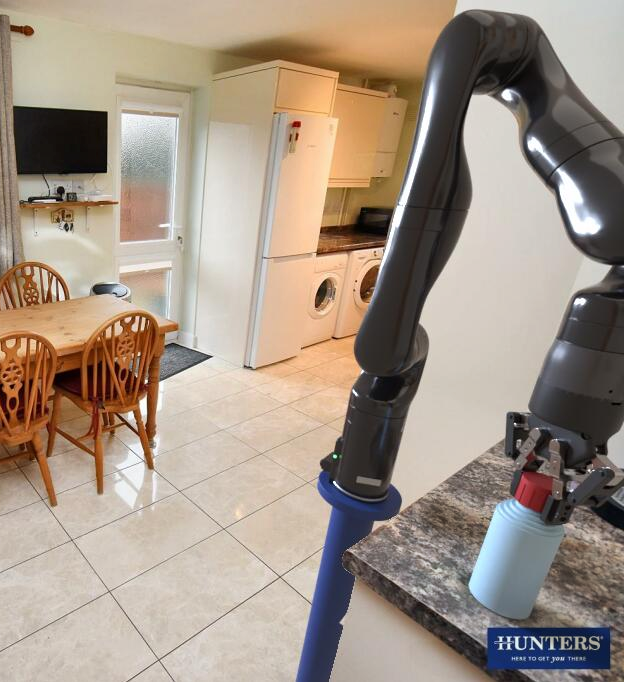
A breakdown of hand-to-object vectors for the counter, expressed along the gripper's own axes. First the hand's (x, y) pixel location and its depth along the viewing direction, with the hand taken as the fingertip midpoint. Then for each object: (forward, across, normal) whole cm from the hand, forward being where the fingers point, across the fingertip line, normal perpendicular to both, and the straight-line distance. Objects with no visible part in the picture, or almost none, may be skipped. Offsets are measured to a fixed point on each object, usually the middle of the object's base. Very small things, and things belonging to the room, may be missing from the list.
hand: (535, 509), depth 55 cm
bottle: (+15, 0, 0) cm, 15 cm away
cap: (-1, 0, 0) cm, 1 cm away
